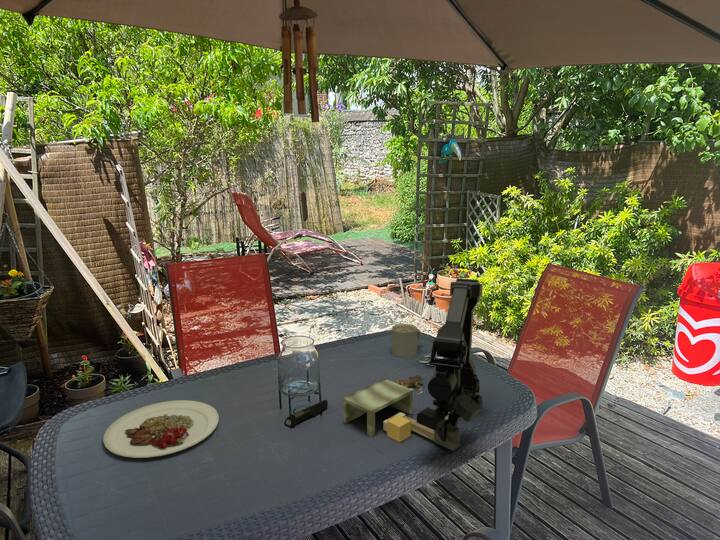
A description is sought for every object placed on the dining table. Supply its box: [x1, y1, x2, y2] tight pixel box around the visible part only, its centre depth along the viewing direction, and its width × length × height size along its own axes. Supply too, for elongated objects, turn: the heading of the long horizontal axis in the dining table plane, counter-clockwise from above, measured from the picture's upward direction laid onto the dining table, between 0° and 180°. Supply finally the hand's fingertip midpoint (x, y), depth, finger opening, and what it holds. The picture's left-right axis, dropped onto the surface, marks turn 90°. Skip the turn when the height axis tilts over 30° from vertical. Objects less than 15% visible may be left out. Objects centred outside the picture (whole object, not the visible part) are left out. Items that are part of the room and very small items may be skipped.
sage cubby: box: [342, 378, 414, 437], centre depth 146 cm, size 18×11×8 cm, turn 135°
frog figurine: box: [395, 374, 424, 396], centre depth 166 cm, size 12×12×4 cm
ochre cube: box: [386, 415, 412, 443], centre depth 136 cm, size 4×4×4 cm
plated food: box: [102, 399, 220, 459], centre depth 141 cm, size 30×30×3 cm
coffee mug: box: [391, 323, 422, 358], centre depth 195 cm, size 13×10×10 cm
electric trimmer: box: [283, 399, 328, 429], centre depth 148 cm, size 4×15×3 cm, turn 137°
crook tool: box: [382, 411, 461, 452], centre depth 134 cm, size 8×20×5 cm, turn 43°
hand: (446, 438), depth 130 cm, fingers closed on crook tool, 3 cm apart
